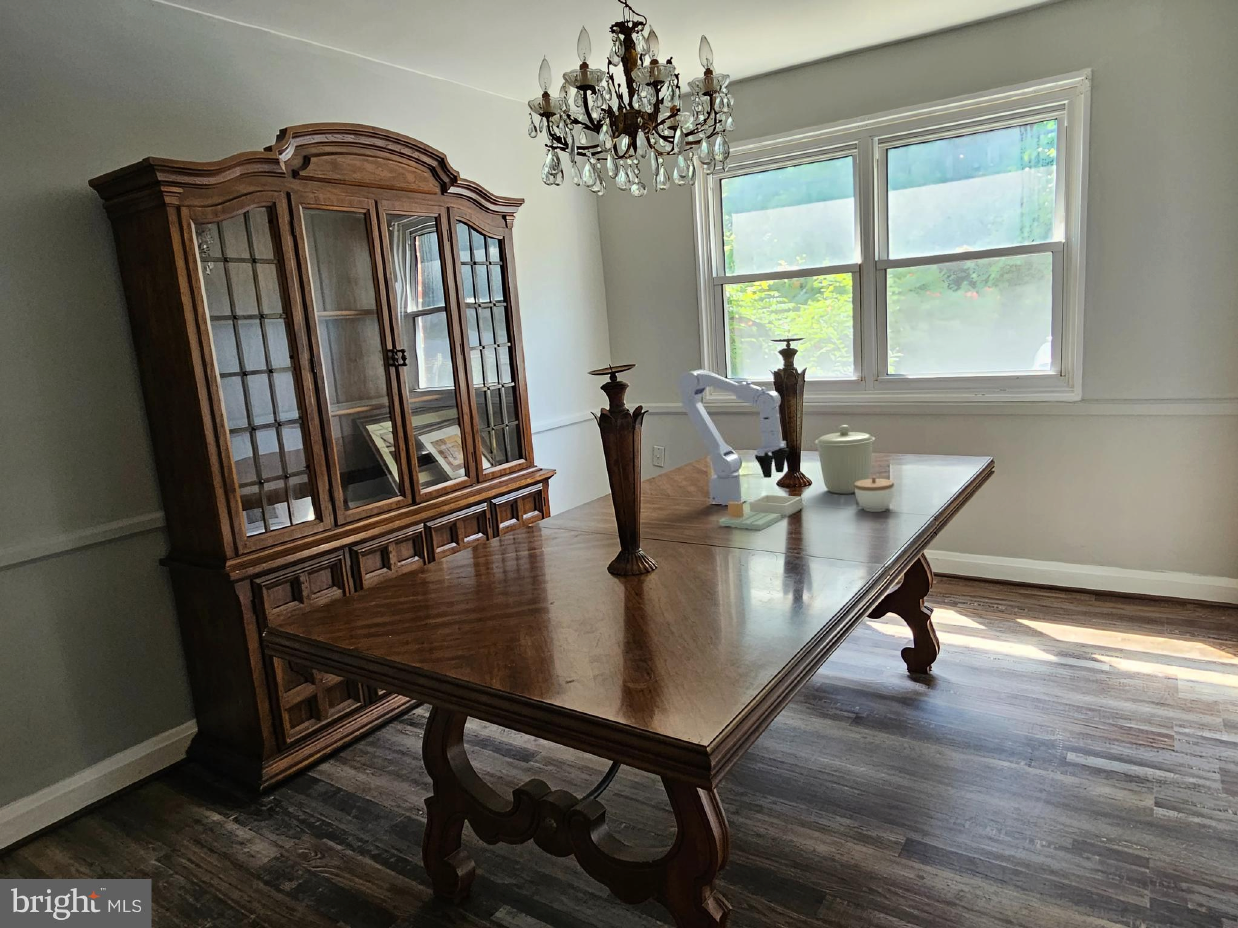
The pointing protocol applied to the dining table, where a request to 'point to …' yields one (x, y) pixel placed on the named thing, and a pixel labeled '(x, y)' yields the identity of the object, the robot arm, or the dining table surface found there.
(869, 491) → the lidded jar
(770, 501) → the parts tub
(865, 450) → the canister
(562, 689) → the dining table surface
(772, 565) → the dining table surface
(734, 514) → the lid
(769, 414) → the robot arm
